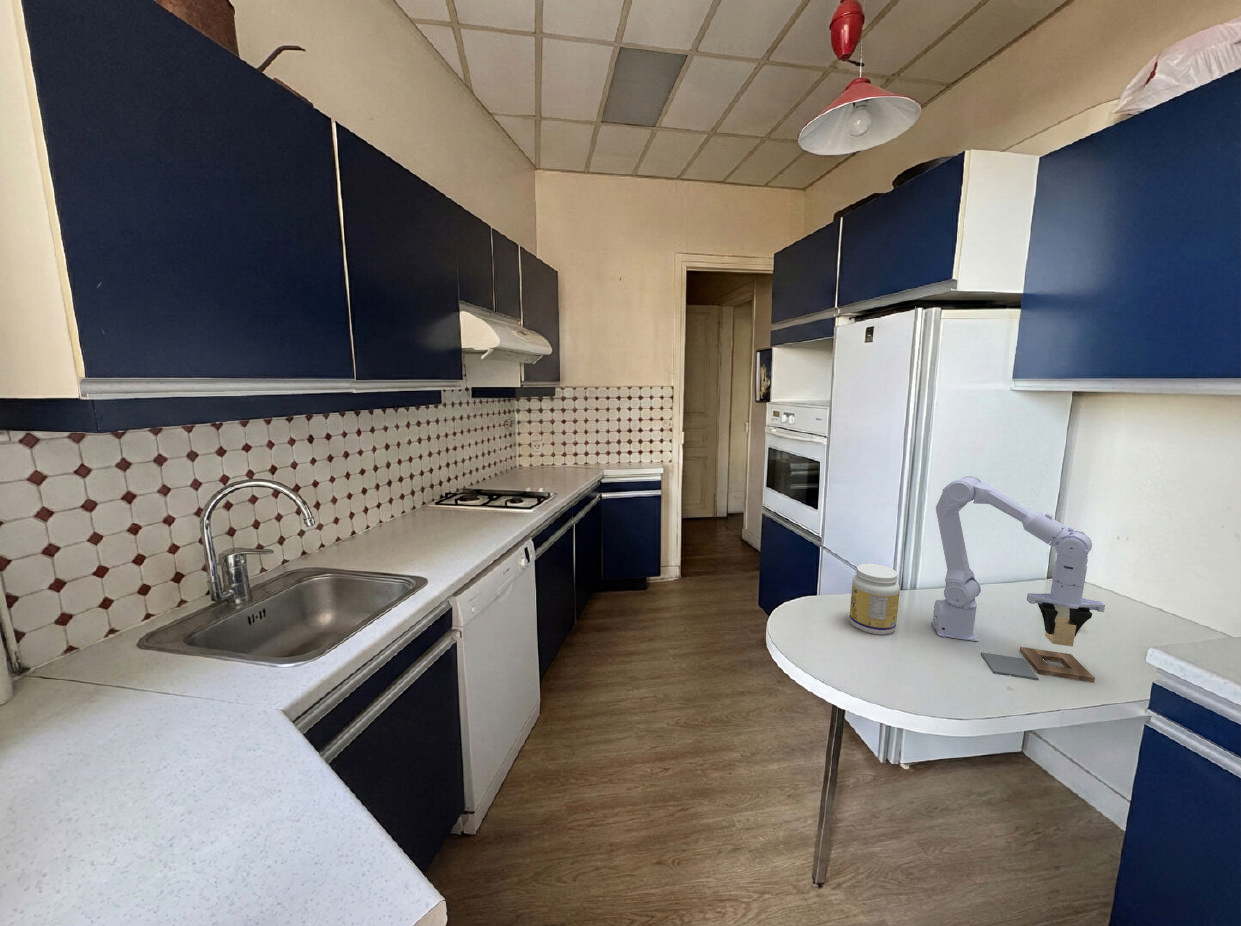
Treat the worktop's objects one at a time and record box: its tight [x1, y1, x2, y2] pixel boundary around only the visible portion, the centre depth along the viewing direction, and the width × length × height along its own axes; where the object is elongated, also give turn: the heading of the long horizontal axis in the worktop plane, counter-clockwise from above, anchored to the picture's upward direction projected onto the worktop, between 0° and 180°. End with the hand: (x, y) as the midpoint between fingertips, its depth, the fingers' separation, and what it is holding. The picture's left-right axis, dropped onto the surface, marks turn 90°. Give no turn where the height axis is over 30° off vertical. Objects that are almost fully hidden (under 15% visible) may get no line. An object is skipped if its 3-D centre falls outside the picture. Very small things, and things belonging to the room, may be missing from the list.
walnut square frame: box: [1019, 646, 1096, 683], centre depth 124 cm, size 11×11×1 cm
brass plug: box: [1044, 616, 1076, 647], centre depth 122 cm, size 4×4×6 cm
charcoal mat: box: [980, 651, 1039, 681], centre depth 123 cm, size 9×9×1 cm
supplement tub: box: [849, 563, 901, 635], centre depth 143 cm, size 12×12×17 cm
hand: (1059, 633), depth 122 cm, fingers closed on brass plug, 4 cm apart
